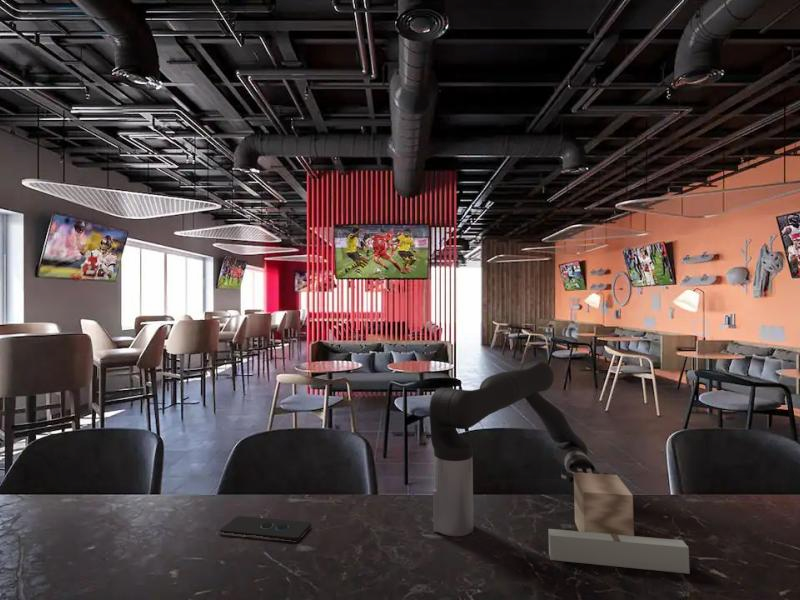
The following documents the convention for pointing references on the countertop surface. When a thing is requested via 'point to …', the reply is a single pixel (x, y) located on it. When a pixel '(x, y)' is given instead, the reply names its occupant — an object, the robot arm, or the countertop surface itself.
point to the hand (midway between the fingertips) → (591, 488)
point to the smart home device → (267, 527)
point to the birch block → (603, 504)
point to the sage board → (619, 550)
